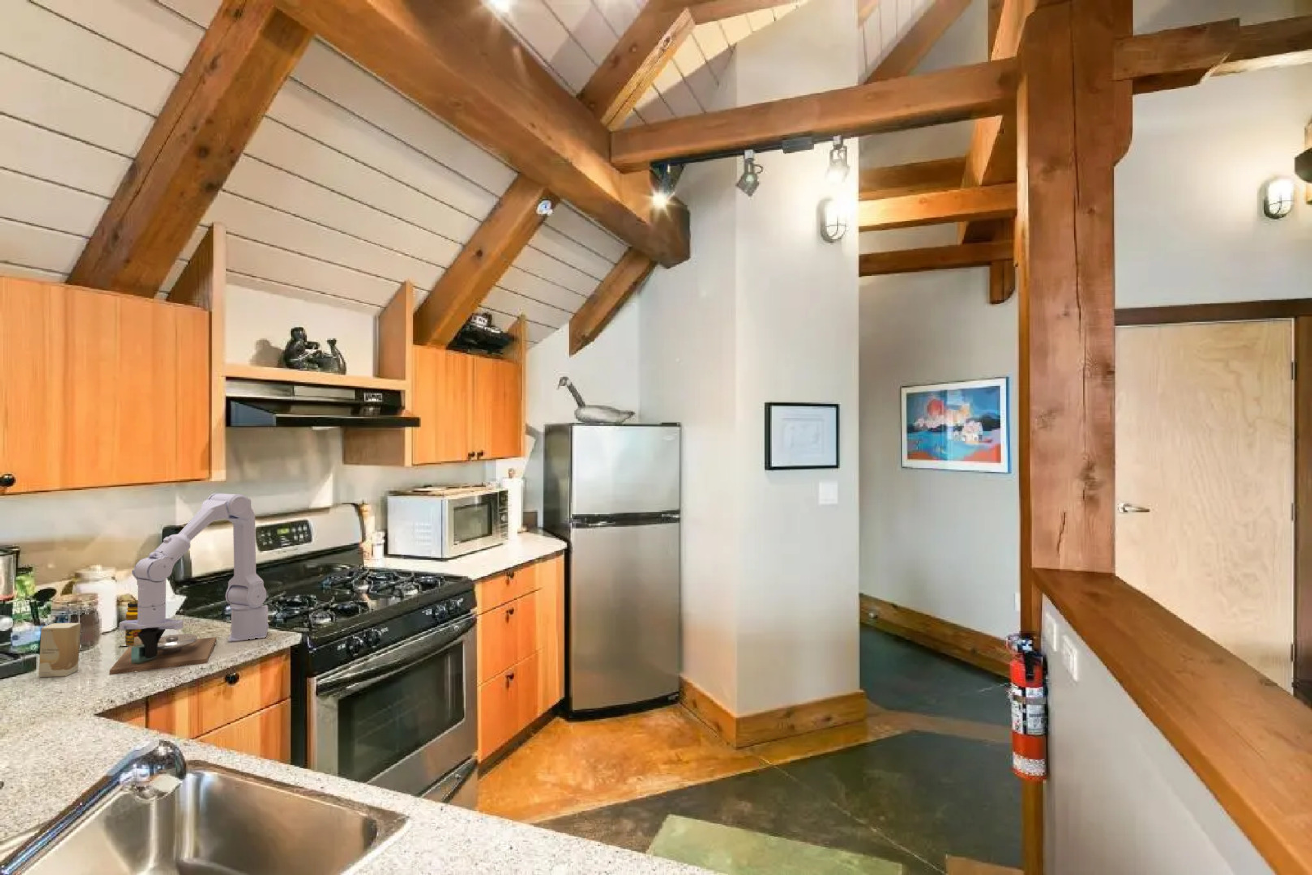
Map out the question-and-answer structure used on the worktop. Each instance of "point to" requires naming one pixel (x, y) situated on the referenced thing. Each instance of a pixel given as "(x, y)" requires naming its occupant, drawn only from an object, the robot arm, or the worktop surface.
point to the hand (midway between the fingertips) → (151, 656)
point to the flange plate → (162, 646)
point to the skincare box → (59, 649)
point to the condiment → (131, 615)
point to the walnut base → (167, 657)
